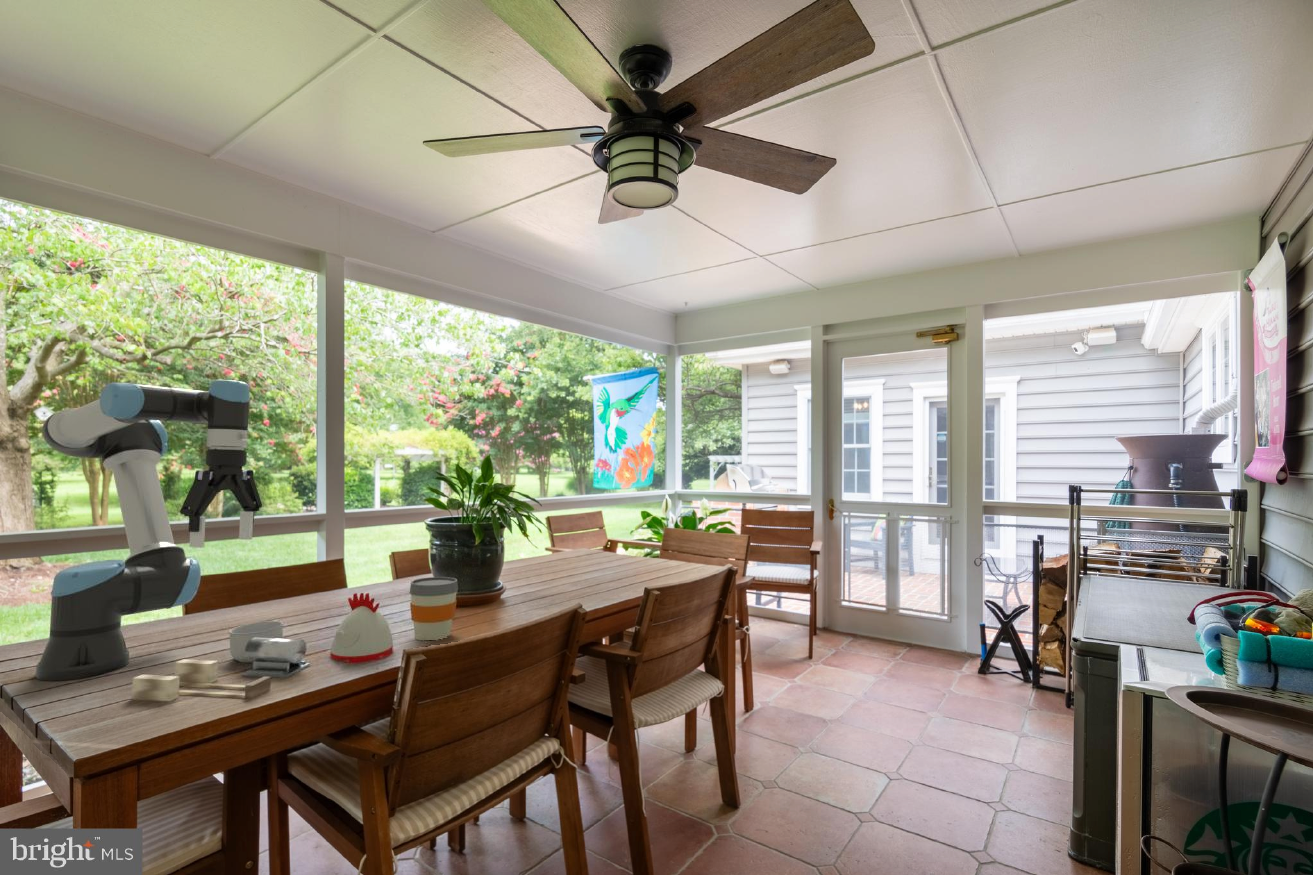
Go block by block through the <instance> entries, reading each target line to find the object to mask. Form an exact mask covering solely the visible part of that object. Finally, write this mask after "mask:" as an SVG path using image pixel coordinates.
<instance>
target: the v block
mask: <svg viewBox="0 0 1313 875" xmlns="http://www.w3.org/2000/svg"><path fill="white" fill-rule="evenodd" d="M310 666H311V663H310V662H307V660H301V661H300V662H299V663H289V662H277V661H257V660H255V661H253V662H252V668H251V669H248V670H246V671H244V672H242V676H244V677H260V678H262V677H264V676H265V677H271V678H282V679H286V678H288V677H291V676H292V675H294V674H296V673H298V672H300V671H302V670H304V669H306V668H309V667H310Z"/></svg>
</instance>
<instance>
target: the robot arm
mask: <svg viewBox="0 0 1313 875" xmlns="http://www.w3.org/2000/svg"><path fill="white" fill-rule="evenodd" d="M250 402H251V398H250V385H249V384H248V383H247V382H244V381H238V380H231V379H230V380H229V379H214V380H212V381H211V382H210V384H209V388H208V390H196V389H188V388H187V389H186V388H185V389H184V388H176V387H166V386H158V385H157V386H155V385H149V384H148V385H147V384H140V383H139V384H138V383H132V382H110V383H108V384H105V385H104V387H103V389H102V390H101V393H100V395H99V399H96V400H94V401H92V402H90V403H87V404H85V405H82V406H81V407H80V406H79V407H77V408H72V407H71V408H64V409H62V410H59V411H57V412H55V413H53V414H51V415H50V416H48V418H46V419H45V421H43V424H42V428H41V434H42V435H41V436H42V437H43V440H44V441H45V443H46V444H47V445H48V446H49V447H50V448H52V449H53V450H55V451H56V452H59V453H60V454H63V455H66V456H69V457H72V458H73V457H74V458H80V459H81V458H83V459H101V461H102V462H101V463H102V466H103V468H105V470H107V471H110V472H112V474H113V479H114V484H115V489H116V493H117V497H118V502H119V506H120V510H121V511H120V512H121V516H122V520H123V525H124V530H125V535H126V540H127V544H128V548H129V549H128V550H129V553H130V555H129V556H128V557H127V558H126V559H125V560H122V559H106V560H98V561H96V560H95V561H90V562H85V563H82V564H77V565H76V564H75V565H74V566H73V565H72V566H69V567H66V568H63V569H62V570H60V571H59V572H57V573H56V574H55V575H54V577H53V583H52V587H51V588H52V589H51V592H50V596H51V605H50V606H51V607H50V623H49V624H50V626H49V638H48V642H47V643H46V646H45V648H44V650H43V653H42V655H41V658H40V660H39V661H38V663H37V665H36V666H35V667H36V668H35V679H37V680H40V681H41V680H42V681H51V682H52V681H53V682H54V681H66V680H67V681H69V680H76V679H83V678H89V677H94V676H98V675H103V674H106V673H110V672H113V671H116V670H118V669H121V668H123V667H125V666H126V665H128V664H129V662H130V651H129V649H128V648H127V645H126V641H125V638H124V636H123V633H122V628H121V626H122V617H123V616H128V615H136V614H141V613H147V612H152V611H153V612H154V611H158V610H165V609H166V610H167V609H172V608H175V607H179V606H184V605H186V604H188V603H190V602H191V601H192V600H193V599H194V598H195V596H196V594H197V592H198V589H199V587H200V583H201V576H202V574H201V573H202V572H201V565H200V563H199V561H198V560H197V559H196V558H194V557H191V556H187V557H186V554H185V550H184V547H181V546H180V545H177V544H175V540H174V536H173V532H172V529H171V525H170V524H171V523H170V520H169V515H168V510H167V507H166V503H165V499H164V495H163V491H162V485H161V482H160V479H159V478H160V477H159V474H158V470H157V465H158V464H159V463H160V462H161V460H162V457H163V456H165V454H166V453H167V450H168V448H169V446H168V441H169V438H168V432H167V430H166V427H165V426H164V424H163V423H162V422H175V423H177V422H178V423H179V422H180V423H189V424H193V425H196V424H197V425H198V424H199V425H206V424H207V431H206V445H205V446H206V447H209V449H207V450H205V465H206V466H208V470H205V469H198V470H196V471H195V474H194V478H193V480H194V481H193V482H192V485H191V487H190V489H189V491H188V493H187V495H186V497H185V499H184V501H183V503H182V506H181V507H180V510H179V513H180V515H183V516H184V517H188V532H189V544H188V545H189V548H200V549H201V548H204V547H205V536H206V534H205V532H206V516H203V514H204V513H205V512H206V511H207V509H208V508H209V506H210V505H211V503H212V502H213V501H214V499H215V497H216V496H217V494H219V493H221V492H222V491H231V492H232V494H233V496H234V497H235V499H236V500H237V502H238V504H239V505H240V507H241V509H242V510H243V511H240V512H239V513H240V514H239V529H238V530H239V532H238V540H245V541H246V540H247V541H248V540H249V541H250V540H253V530H254V529H253V527H254V526H253V525H254V523H255V513H256V512H259V511H260V509H261V508H262V506H263V502H262V499H261V496H260V493H259V491H258V487H257V486H256V482H255V478H254V477H255V476H254V469H243V467H245V466H246V465H247V459H248V458H247V456H248V452H247V450H246V448H247V447H248V428H249V419H250V418H249V417H250ZM244 449H245V450H244Z"/></svg>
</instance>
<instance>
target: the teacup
mask: <svg viewBox="0 0 1313 875" xmlns="http://www.w3.org/2000/svg"><path fill="white" fill-rule="evenodd" d="M283 626H284V622H282V621H281V620H280V619H273V620H268V621H265V620H264V621H257V622H252V623H245V624H243V625H239V626H236V627H233V628H231V629H230V630H229V631H228V634H229V649H230V656H231V657H232V658H233V659H234V660H236V661H239V662H240V663H253V661H248V660H247V659H246V658H245V655H244V652H245V647H246V645H247V643H248V642H249V641H250V640H251V639H252V638H255V637H257V638H279V639H284V630H283V629H284V627H283Z"/></svg>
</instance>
